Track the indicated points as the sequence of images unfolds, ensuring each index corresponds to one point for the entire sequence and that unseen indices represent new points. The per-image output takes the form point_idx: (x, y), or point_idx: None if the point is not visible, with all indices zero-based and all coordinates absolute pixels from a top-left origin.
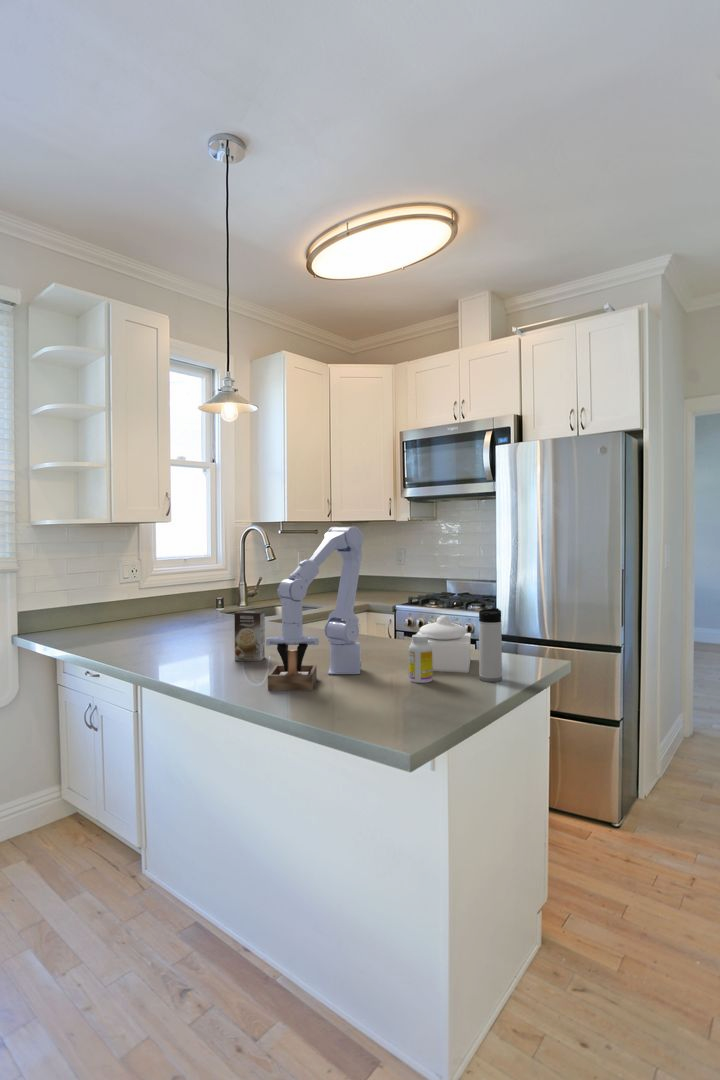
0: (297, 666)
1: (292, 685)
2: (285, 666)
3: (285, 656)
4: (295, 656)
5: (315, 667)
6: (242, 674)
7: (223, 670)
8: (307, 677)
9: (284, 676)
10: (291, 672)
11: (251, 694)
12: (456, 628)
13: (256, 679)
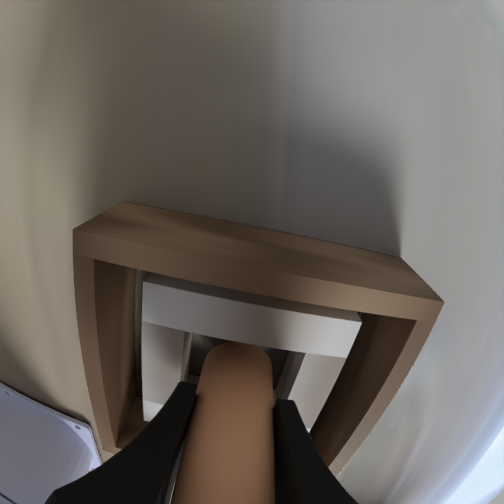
0: (192, 417)
1: (248, 234)
2: (293, 422)
3: (299, 491)
4: (193, 484)
5: (96, 420)
6: (414, 467)
7: (440, 484)
8: (114, 230)
9: (318, 274)
10: (245, 380)
11: (483, 199)
12: None
13: (395, 429)
